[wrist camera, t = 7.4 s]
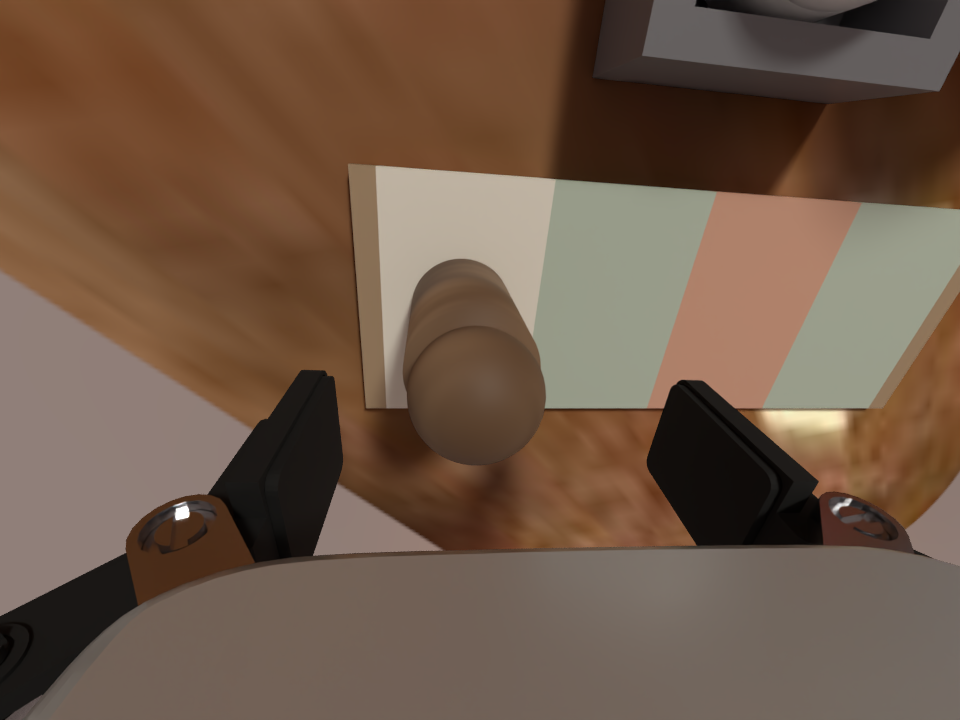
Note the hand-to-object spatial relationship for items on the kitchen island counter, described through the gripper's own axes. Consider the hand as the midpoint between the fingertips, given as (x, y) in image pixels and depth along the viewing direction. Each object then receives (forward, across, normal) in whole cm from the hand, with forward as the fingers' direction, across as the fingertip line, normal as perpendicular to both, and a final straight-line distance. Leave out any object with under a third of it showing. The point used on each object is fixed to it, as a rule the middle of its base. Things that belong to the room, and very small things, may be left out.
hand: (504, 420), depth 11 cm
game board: (+9, -10, 0) cm, 13 cm away
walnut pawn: (+8, +1, 0) cm, 8 cm away
